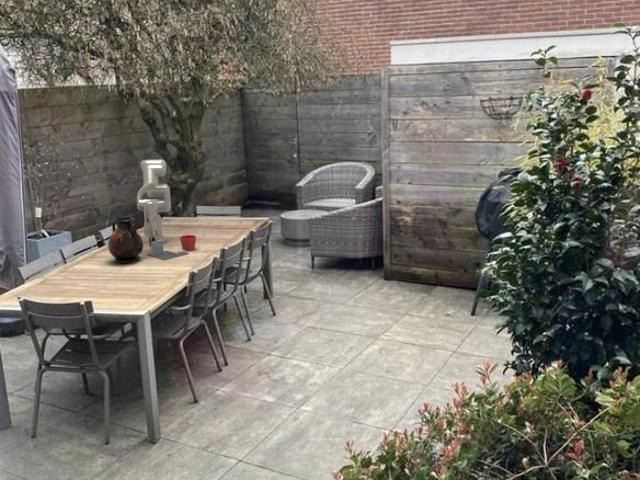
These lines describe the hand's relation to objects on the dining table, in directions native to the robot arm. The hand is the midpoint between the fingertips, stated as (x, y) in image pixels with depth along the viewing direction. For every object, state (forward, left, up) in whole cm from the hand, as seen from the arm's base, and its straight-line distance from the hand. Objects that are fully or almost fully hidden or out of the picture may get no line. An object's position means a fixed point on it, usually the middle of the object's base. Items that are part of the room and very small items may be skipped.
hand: (152, 246), depth 401 cm
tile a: (+6, +11, -4) cm, 13 cm away
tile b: (+5, 0, -5) cm, 7 cm away
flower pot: (+10, +22, -6) cm, 25 cm away
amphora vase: (0, -20, -6) cm, 21 cm away
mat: (+10, +5, -6) cm, 12 cm away
